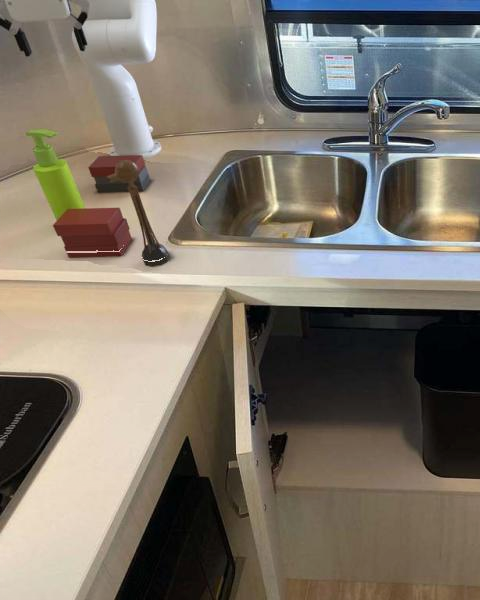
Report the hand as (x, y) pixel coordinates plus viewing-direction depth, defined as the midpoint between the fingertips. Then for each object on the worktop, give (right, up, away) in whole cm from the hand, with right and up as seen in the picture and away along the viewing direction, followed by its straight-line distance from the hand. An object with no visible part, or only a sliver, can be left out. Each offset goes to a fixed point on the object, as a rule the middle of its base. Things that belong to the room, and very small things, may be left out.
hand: (56, 52), depth 109 cm
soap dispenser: (-1, -33, +8) cm, 34 cm away
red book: (+3, -19, +19) cm, 27 cm away
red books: (+9, -39, 0) cm, 40 cm away
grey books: (+3, -22, +21) cm, 31 cm away
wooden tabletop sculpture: (+21, -42, -4) cm, 47 cm away
